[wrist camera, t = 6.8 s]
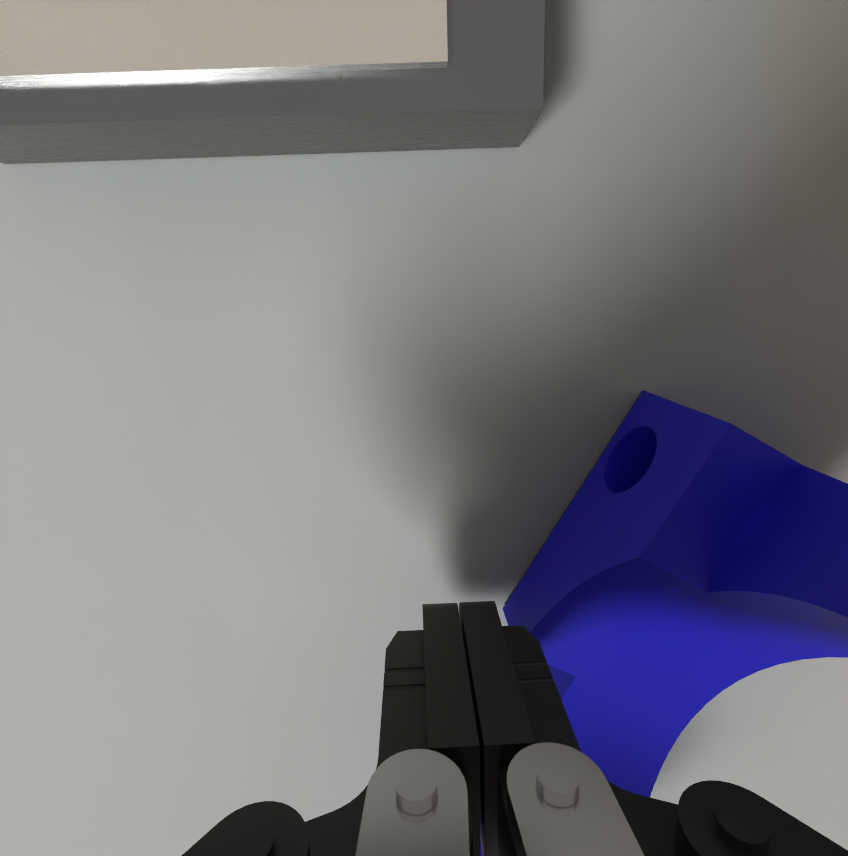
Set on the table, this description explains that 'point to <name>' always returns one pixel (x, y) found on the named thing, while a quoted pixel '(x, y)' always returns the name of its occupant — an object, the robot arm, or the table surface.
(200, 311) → the table surface
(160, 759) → the table surface
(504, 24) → the label stands
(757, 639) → the cable clip
